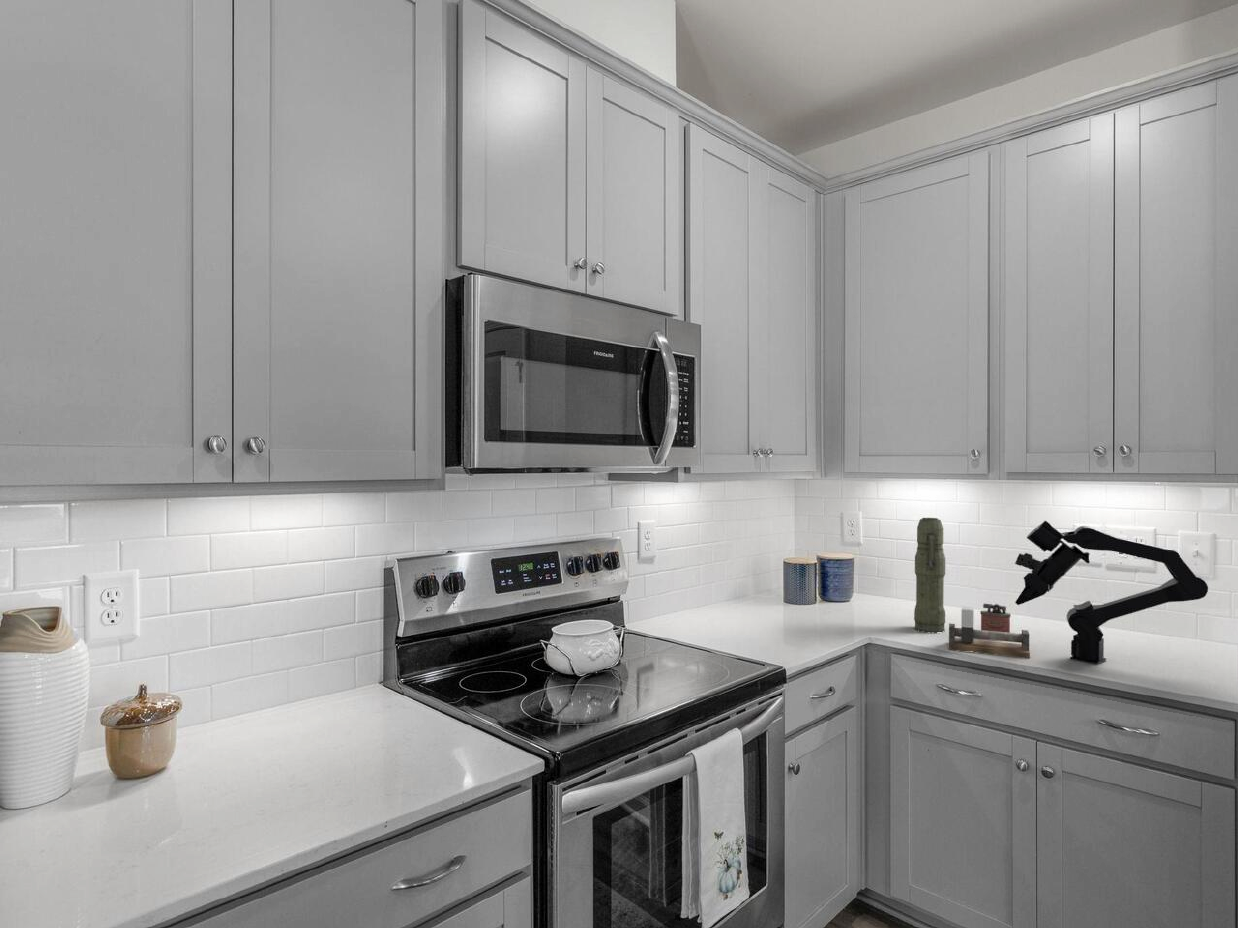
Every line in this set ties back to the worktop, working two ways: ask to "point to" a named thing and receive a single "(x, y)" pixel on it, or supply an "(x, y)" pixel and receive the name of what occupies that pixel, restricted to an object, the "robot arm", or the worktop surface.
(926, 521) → the thermos
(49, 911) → the worktop surface
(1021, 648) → the pipe stand
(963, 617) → the white slider block
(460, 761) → the worktop surface
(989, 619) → the lighter
